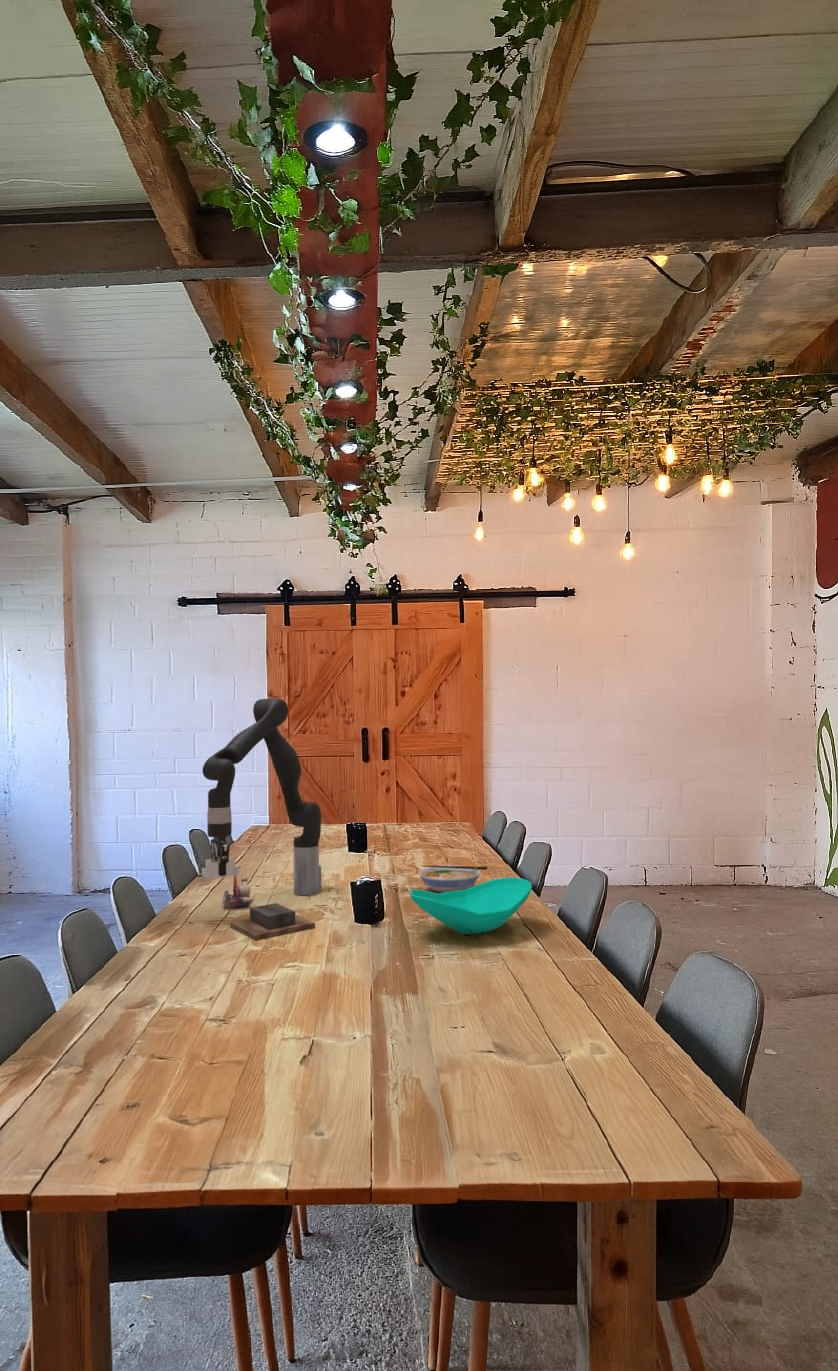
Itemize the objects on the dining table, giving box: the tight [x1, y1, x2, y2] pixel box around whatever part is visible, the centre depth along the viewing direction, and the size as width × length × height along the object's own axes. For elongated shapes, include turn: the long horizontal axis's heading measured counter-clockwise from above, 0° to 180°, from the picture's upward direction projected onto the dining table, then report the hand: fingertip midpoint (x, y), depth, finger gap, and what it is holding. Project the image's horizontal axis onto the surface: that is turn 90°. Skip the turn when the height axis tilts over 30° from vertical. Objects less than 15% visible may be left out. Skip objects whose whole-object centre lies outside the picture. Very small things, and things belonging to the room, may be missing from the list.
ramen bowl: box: [418, 865, 488, 893], centre depth 284 cm, size 25×23×8 cm
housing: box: [201, 856, 239, 880], centre depth 249 cm, size 10×6×5 cm, turn 120°
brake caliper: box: [222, 875, 254, 912], centre depth 268 cm, size 11×11×12 cm
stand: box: [229, 902, 316, 941], centre depth 242 cm, size 20×18×6 cm
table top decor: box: [409, 876, 533, 935], centre depth 235 cm, size 40×28×13 cm
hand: (220, 873), depth 249 cm, fingers closed on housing, 5 cm apart
